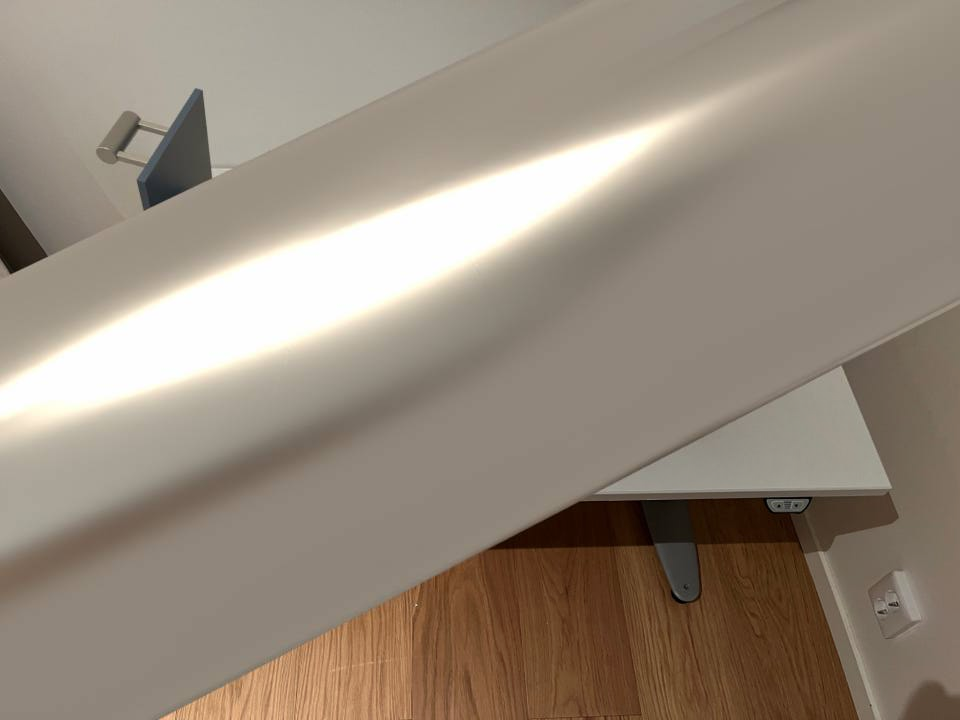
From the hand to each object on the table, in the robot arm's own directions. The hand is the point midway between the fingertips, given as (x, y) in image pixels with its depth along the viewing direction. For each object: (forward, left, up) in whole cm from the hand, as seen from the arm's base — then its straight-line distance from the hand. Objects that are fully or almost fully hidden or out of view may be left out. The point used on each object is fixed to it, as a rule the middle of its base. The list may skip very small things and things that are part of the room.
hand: (478, 167), depth 49 cm
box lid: (-16, +31, -18) cm, 39 cm away
